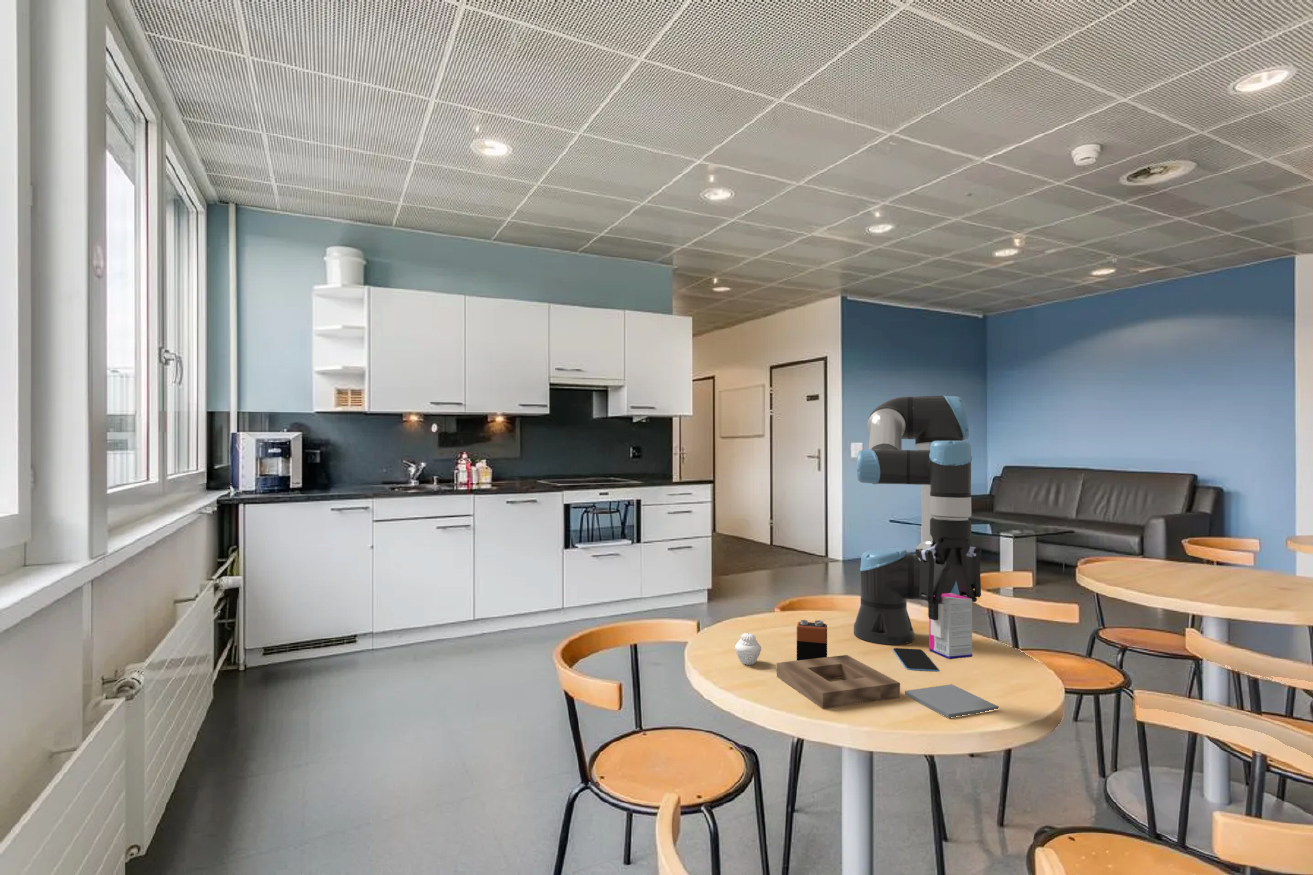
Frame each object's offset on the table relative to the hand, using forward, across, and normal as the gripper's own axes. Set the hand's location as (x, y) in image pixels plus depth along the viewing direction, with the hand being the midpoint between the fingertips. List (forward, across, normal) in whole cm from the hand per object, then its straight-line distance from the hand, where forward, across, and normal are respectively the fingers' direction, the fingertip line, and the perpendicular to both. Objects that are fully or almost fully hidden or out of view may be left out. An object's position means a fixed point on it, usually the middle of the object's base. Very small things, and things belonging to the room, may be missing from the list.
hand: (950, 634), depth 127 cm
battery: (+14, +14, -28) cm, 34 cm away
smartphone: (+14, -11, -23) cm, 29 cm away
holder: (+13, +17, -14) cm, 26 cm away
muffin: (+14, +28, -33) cm, 45 cm away
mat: (+13, 0, 0) cm, 13 cm away
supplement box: (+4, 0, 0) cm, 4 cm away
